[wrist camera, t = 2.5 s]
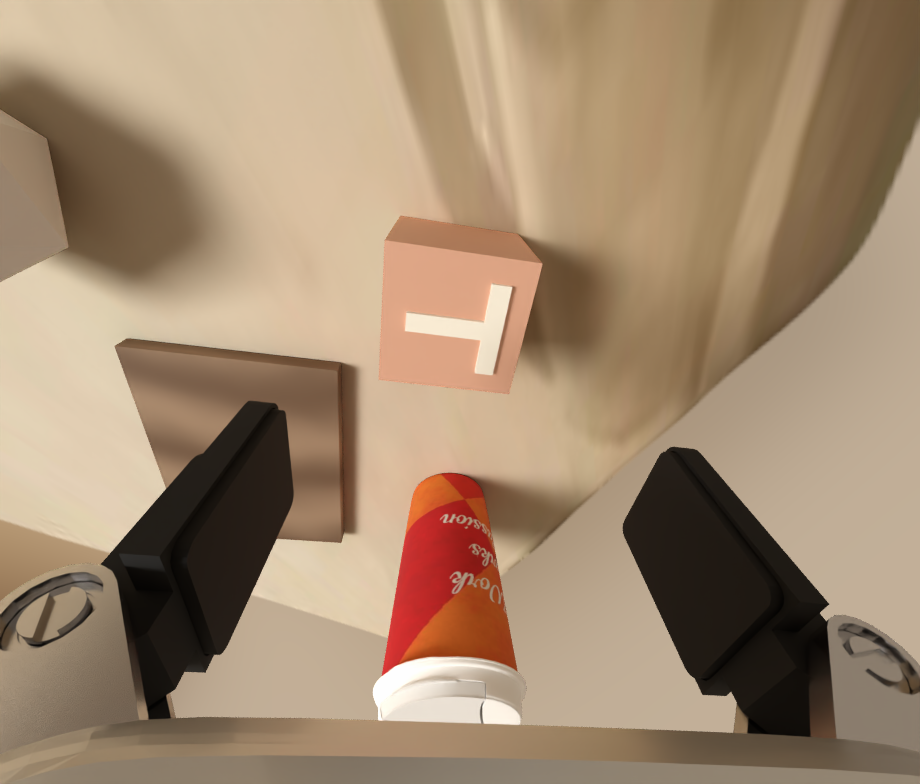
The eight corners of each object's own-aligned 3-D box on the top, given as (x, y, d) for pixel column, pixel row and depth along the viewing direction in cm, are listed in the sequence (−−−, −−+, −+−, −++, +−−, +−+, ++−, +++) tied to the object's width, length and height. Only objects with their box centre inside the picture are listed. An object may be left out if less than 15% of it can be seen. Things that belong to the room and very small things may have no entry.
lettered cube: (400, 215, 19) (383, 241, 14) (517, 233, 20) (543, 265, 15) (393, 327, 22) (377, 382, 17) (494, 339, 23) (509, 396, 18)
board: (127, 338, 22) (114, 346, 21) (341, 362, 23) (337, 370, 22) (189, 521, 30) (182, 532, 30) (344, 532, 32) (341, 542, 31)
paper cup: (509, 515, 31) (549, 738, 19) (423, 539, 33) (411, 762, 21) (476, 448, 27) (501, 677, 16) (380, 478, 29) (335, 711, 17)
